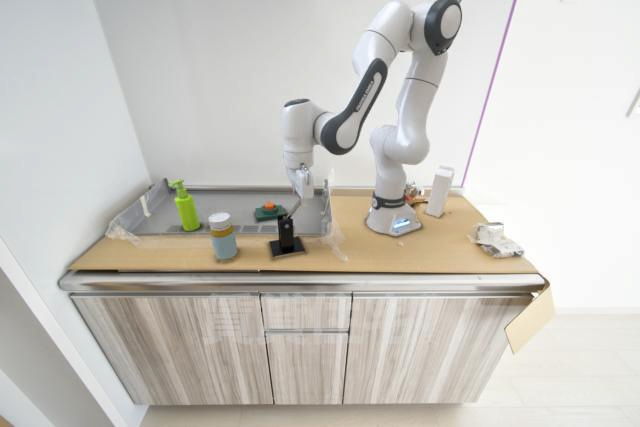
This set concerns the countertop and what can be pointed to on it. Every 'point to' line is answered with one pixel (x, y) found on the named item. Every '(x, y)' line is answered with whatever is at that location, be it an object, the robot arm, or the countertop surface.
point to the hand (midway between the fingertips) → (299, 200)
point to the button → (269, 206)
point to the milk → (440, 191)
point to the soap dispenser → (186, 207)
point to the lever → (292, 210)
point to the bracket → (285, 238)
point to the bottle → (223, 236)
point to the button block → (268, 213)
